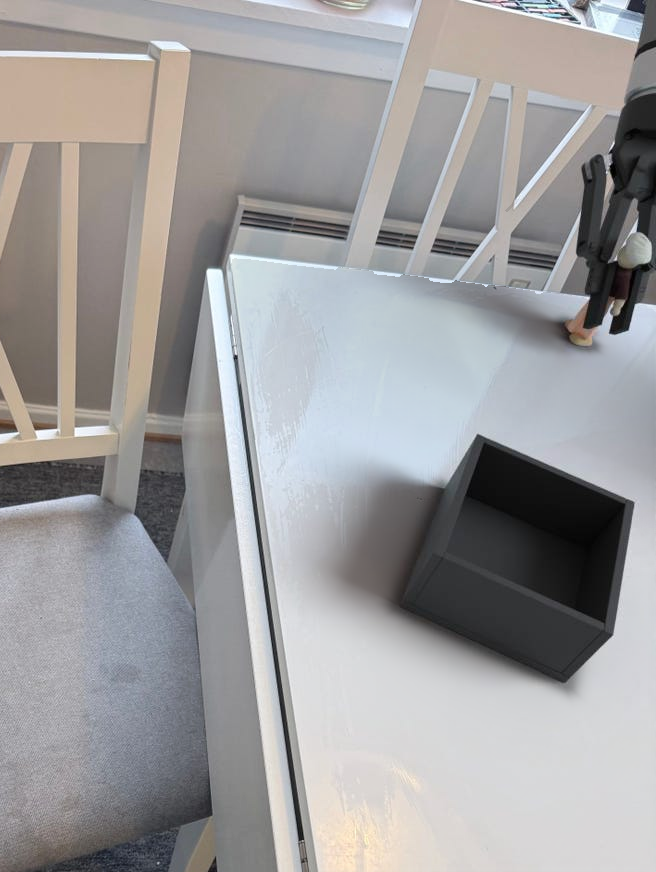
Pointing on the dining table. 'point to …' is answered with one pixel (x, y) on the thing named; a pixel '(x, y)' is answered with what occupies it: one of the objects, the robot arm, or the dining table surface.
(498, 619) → the bin
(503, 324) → the dining table surface
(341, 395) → the dining table surface
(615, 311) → the grandmother figurine
